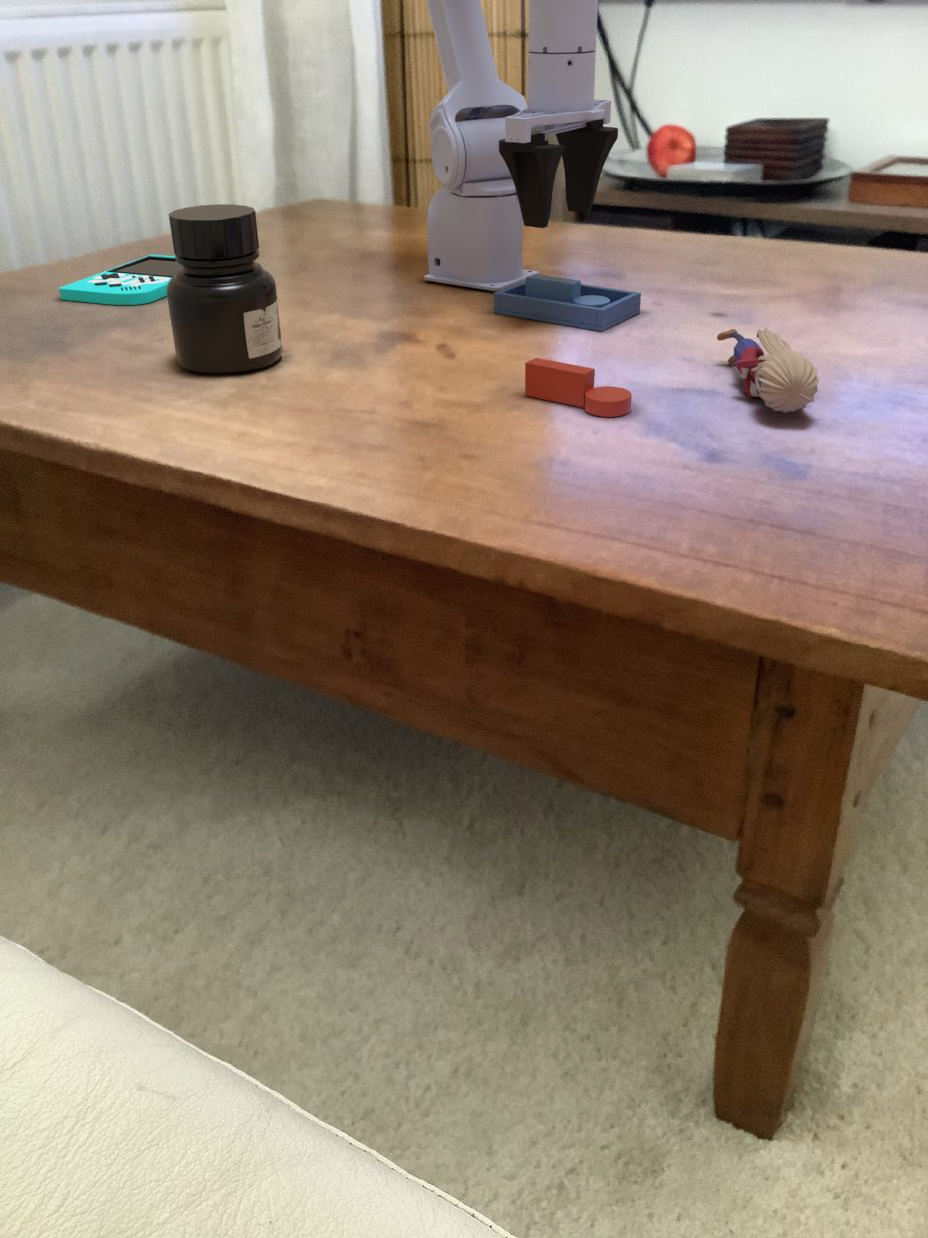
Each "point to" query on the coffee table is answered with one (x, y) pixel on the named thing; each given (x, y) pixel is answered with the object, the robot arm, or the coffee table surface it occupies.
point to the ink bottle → (221, 292)
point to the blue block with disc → (561, 291)
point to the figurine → (773, 371)
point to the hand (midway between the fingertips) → (558, 218)
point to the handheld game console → (125, 283)
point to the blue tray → (569, 307)
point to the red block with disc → (574, 388)
